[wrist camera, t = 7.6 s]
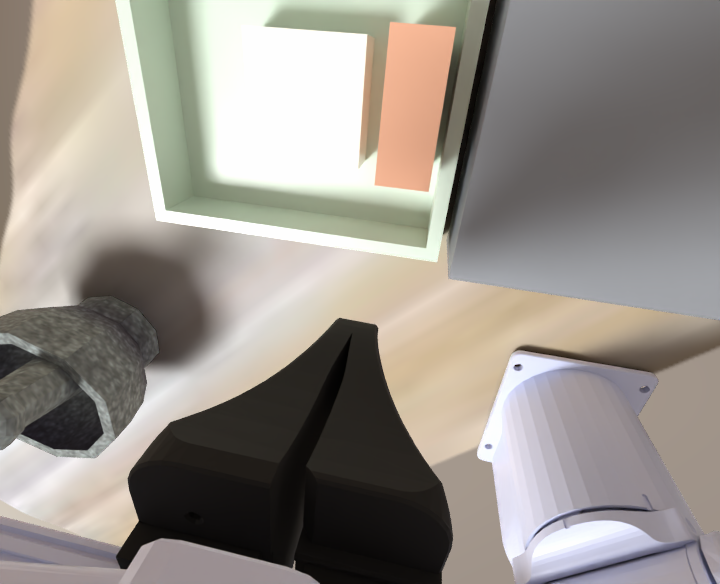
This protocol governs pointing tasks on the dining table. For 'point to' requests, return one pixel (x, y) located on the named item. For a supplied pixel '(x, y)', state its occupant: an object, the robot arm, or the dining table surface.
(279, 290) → the dining table surface
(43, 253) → the dining table surface
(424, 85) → the terracotta tile
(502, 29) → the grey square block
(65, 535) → the robot arm
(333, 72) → the cream tile
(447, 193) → the green bin
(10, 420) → the mortar and pestle
